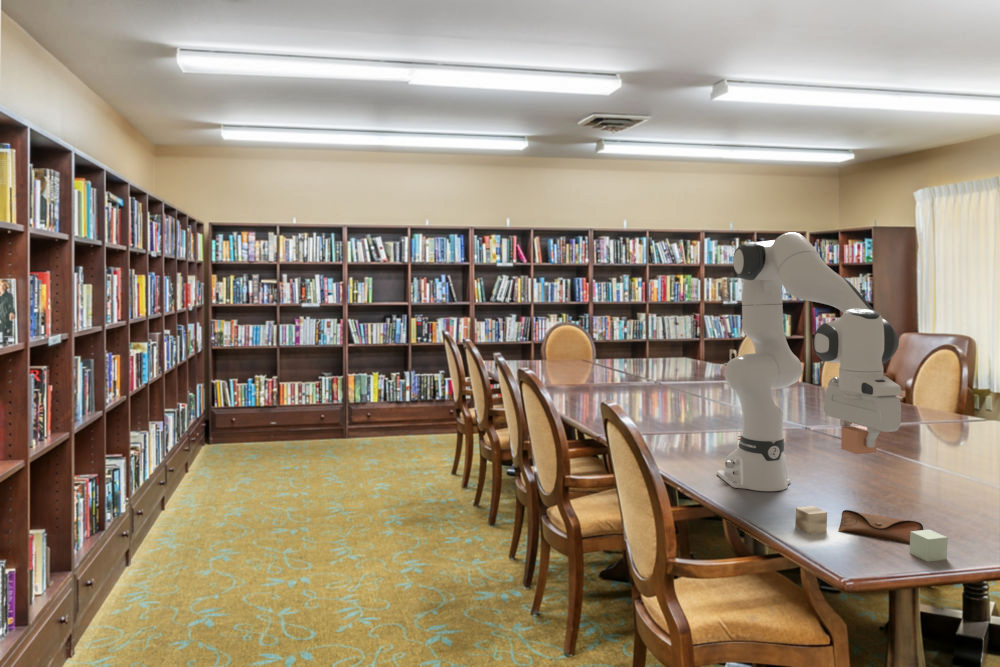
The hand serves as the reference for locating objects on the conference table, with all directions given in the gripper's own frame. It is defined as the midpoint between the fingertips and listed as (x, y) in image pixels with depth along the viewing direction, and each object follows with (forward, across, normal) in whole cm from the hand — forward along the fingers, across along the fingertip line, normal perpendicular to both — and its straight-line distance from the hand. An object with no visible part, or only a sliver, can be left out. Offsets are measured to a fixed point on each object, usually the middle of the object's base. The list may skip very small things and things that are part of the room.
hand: (858, 443), depth 165 cm
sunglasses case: (+25, -7, +12) cm, 28 cm away
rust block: (+2, 0, 0) cm, 2 cm away
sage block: (+24, +8, +12) cm, 28 cm away
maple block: (+24, -13, -2) cm, 28 cm away
